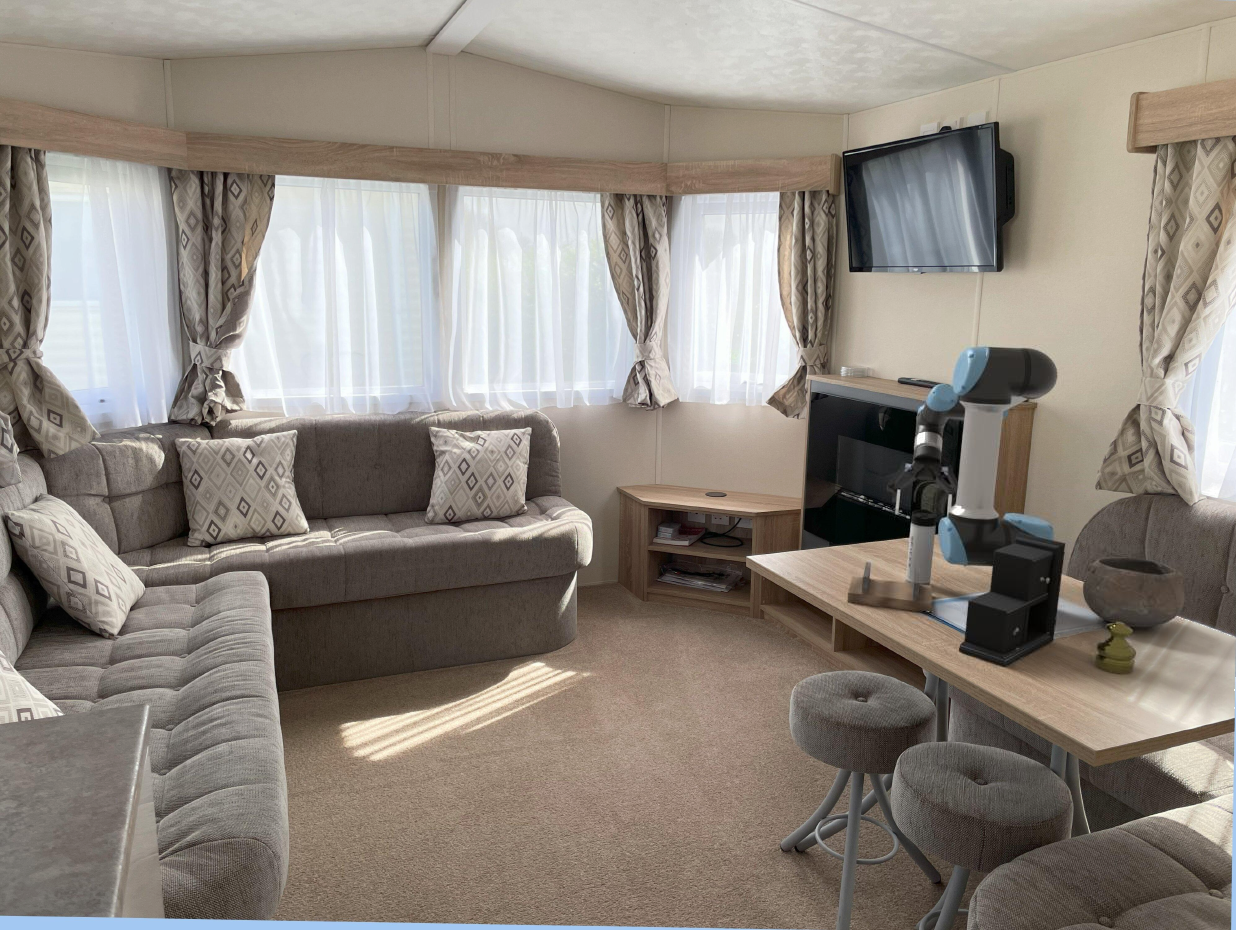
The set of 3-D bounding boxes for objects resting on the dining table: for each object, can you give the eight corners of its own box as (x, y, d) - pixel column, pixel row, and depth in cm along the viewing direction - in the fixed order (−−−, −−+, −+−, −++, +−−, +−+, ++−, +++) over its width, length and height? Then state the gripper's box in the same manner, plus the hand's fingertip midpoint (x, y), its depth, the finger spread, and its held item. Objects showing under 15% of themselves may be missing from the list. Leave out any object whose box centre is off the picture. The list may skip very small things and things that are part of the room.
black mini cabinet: (1004, 668, 190) (1017, 561, 186) (957, 651, 198) (968, 548, 194) (1054, 642, 205) (1067, 542, 201) (1008, 628, 213) (1019, 532, 209)
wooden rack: (930, 595, 235) (932, 569, 234) (930, 612, 222) (933, 585, 220) (851, 585, 241) (853, 560, 240) (847, 601, 228) (849, 575, 227)
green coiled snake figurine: (1123, 677, 187) (1129, 632, 185) (1087, 665, 193) (1093, 620, 191) (1140, 669, 191) (1146, 625, 189) (1104, 657, 197) (1110, 614, 195)
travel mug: (929, 581, 246) (936, 510, 242) (929, 588, 240) (936, 515, 236) (905, 578, 248) (912, 507, 244) (905, 585, 242) (911, 513, 238)
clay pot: (1064, 620, 219) (1072, 560, 216) (1101, 602, 233) (1108, 546, 230) (1159, 647, 204) (1168, 583, 201) (1192, 627, 217) (1202, 567, 214)
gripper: (972, 463, 258) (969, 526, 247) (882, 455, 266) (875, 516, 255) (975, 447, 252) (972, 511, 241) (882, 440, 260) (875, 502, 249)
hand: (922, 514), depth 248 cm, fingers open, 13 cm apart
